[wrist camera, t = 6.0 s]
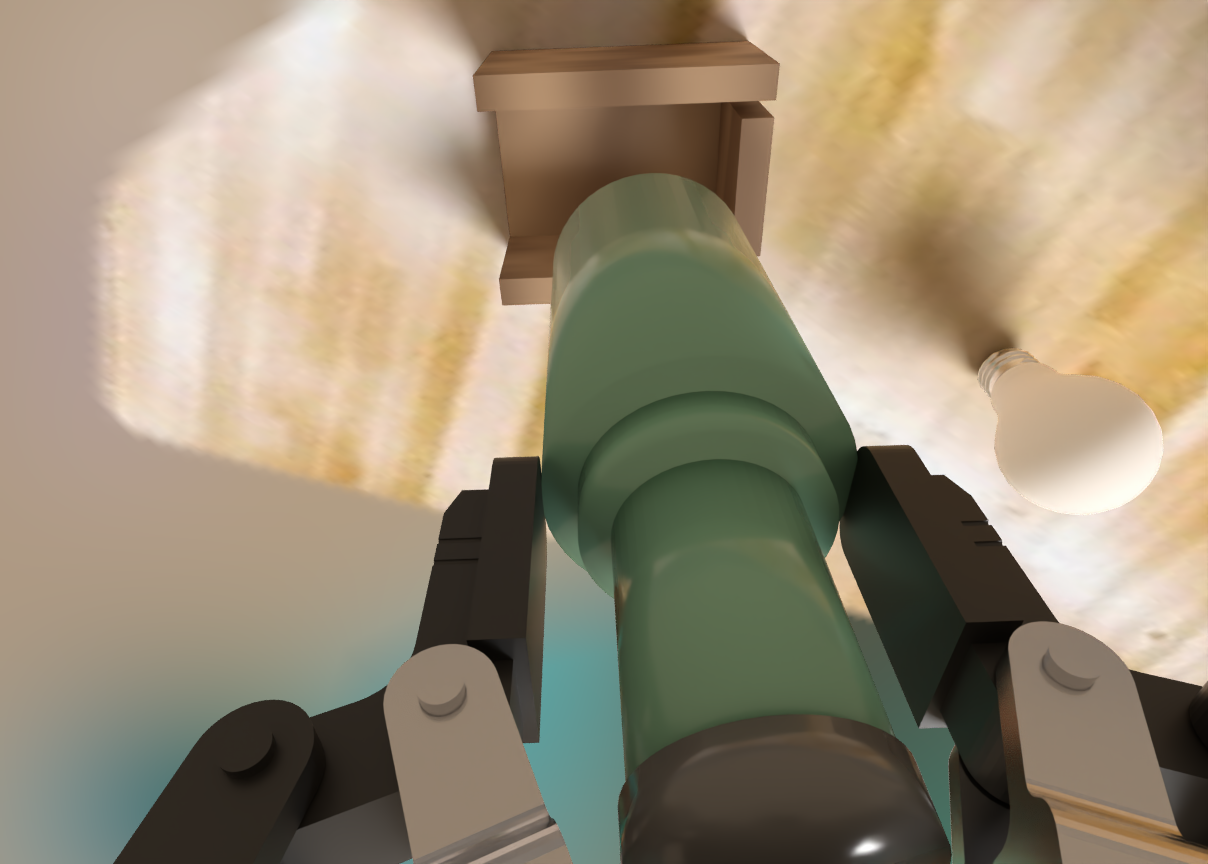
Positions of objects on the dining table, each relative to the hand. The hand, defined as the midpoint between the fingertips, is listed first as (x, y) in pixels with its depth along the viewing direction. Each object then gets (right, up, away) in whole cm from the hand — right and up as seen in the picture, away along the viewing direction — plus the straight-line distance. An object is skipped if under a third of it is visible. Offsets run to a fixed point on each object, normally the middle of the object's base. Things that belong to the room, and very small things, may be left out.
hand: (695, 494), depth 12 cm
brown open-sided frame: (-1, +14, +21) cm, 25 cm away
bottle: (0, +5, +7) cm, 9 cm away
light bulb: (+21, +5, +28) cm, 35 cm away
